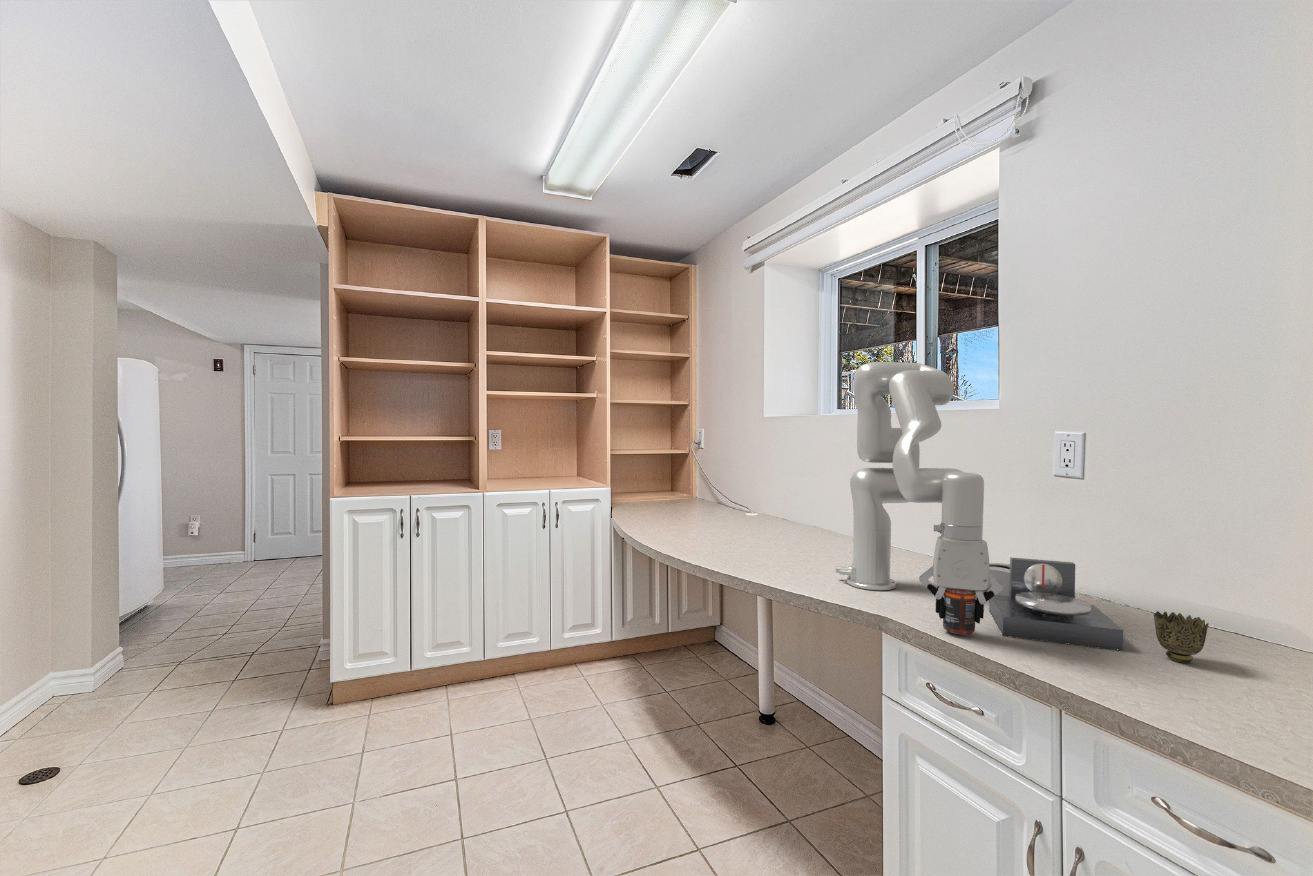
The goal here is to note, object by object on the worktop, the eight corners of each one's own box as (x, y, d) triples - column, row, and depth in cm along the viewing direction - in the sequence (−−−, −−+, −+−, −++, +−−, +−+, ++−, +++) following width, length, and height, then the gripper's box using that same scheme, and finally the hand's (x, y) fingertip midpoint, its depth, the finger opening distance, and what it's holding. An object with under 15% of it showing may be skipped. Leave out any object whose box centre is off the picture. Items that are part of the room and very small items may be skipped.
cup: (1212, 672, 101) (1213, 627, 101) (1157, 662, 105) (1158, 619, 104) (1200, 658, 107) (1201, 615, 107) (1149, 649, 111) (1150, 608, 111)
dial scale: (1002, 635, 118) (1004, 572, 117) (989, 611, 133) (990, 555, 133) (1122, 650, 110) (1124, 583, 110) (1093, 623, 126) (1094, 564, 126)
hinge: (1057, 607, 137) (1050, 569, 135) (1046, 616, 135) (1039, 578, 133) (988, 589, 152) (981, 555, 150) (977, 597, 150) (970, 563, 148)
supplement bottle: (978, 630, 119) (980, 576, 119) (970, 638, 115) (972, 582, 114) (947, 623, 123) (949, 571, 123) (938, 630, 119) (940, 576, 118)
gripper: (916, 532, 118) (914, 619, 118) (1013, 539, 111) (1010, 631, 112) (914, 526, 125) (912, 608, 125) (1006, 532, 118) (1003, 619, 119)
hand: (958, 618), depth 119 cm, fingers closed on supplement bottle, 6 cm apart
